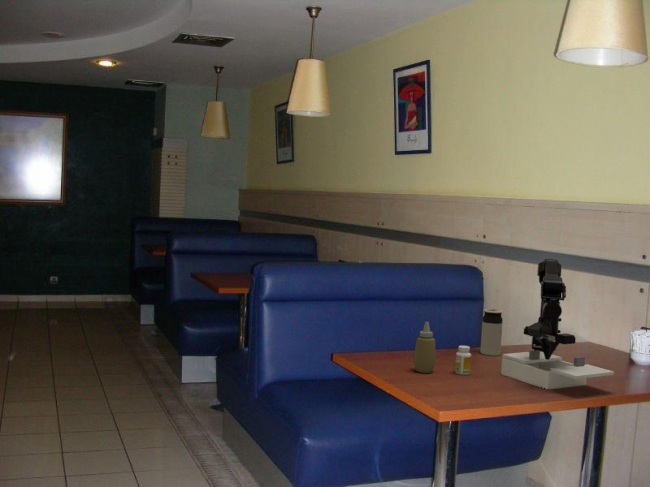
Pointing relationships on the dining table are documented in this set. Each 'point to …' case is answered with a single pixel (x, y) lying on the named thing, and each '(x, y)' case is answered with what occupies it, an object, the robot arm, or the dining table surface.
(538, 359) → the flap
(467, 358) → the supplement bottle
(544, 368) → the carton
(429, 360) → the squeeze bottle
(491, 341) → the travel mug
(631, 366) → the dining table surface
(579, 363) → the flap
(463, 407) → the dining table surface
